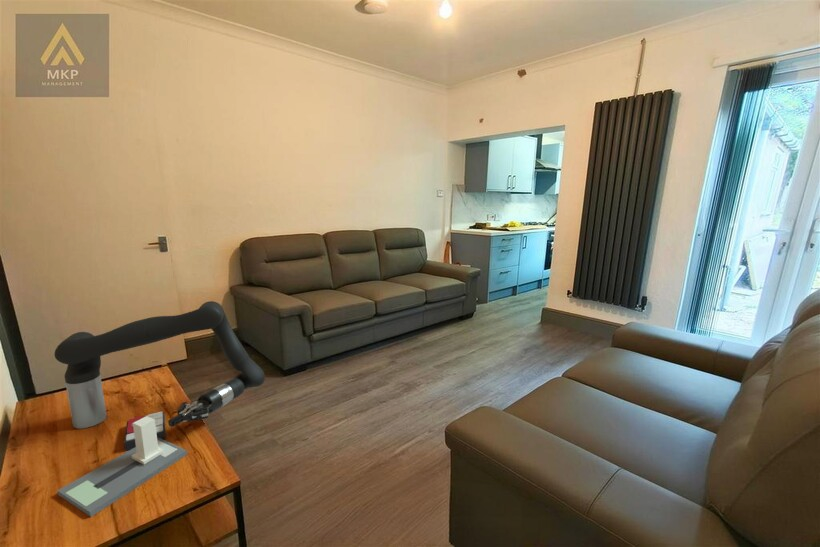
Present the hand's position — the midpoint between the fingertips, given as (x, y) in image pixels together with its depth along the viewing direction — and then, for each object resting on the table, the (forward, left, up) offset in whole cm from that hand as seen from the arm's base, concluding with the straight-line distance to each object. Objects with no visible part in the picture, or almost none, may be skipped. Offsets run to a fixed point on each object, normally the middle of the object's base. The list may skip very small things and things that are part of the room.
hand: (170, 423), depth 118 cm
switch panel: (0, -13, -8) cm, 16 cm away
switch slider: (0, -7, -7) cm, 10 cm away
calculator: (-15, 0, -9) cm, 17 cm away
